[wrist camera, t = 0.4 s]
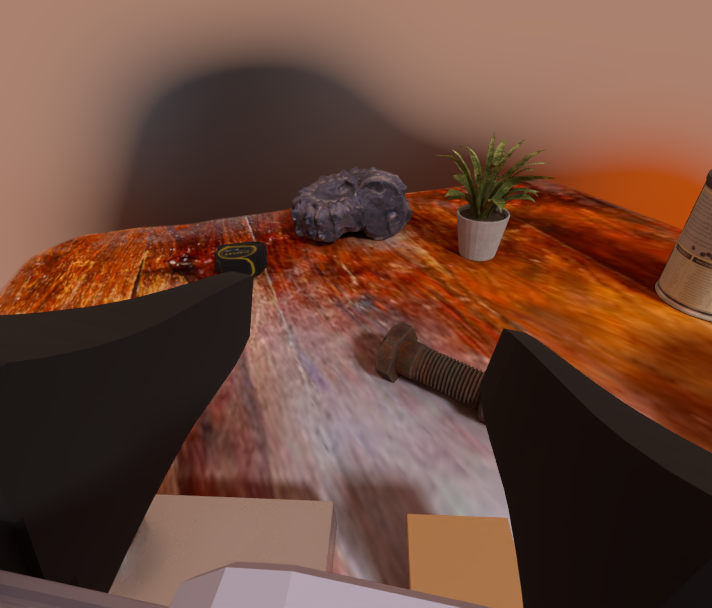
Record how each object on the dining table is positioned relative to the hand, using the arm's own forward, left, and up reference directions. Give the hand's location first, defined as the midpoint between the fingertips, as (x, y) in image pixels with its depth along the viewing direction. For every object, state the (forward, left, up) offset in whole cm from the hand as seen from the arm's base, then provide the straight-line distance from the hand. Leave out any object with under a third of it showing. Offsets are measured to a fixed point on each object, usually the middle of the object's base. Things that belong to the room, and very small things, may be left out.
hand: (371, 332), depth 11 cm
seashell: (+50, +5, -20) cm, 54 cm away
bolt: (+15, -7, -20) cm, 26 cm away
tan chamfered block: (0, -4, -20) cm, 20 cm away
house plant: (+42, -13, -20) cm, 48 cm away
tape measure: (+38, +20, -20) cm, 47 cm away
